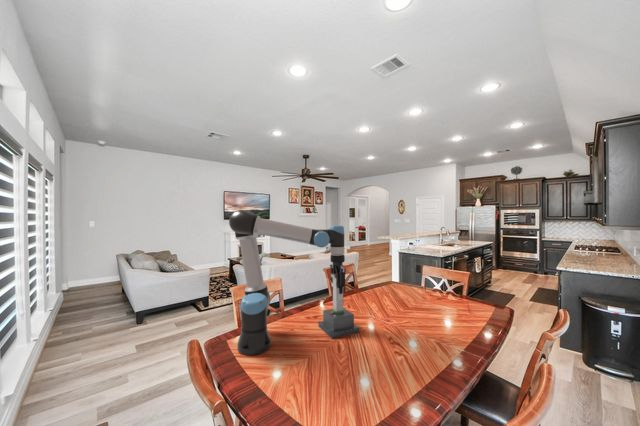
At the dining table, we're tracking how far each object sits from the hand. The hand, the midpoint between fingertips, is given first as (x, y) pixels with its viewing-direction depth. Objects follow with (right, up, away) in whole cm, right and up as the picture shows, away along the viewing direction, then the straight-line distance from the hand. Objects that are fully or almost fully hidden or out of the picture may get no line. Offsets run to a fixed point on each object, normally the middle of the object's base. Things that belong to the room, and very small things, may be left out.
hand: (337, 298), depth 141 cm
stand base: (0, -17, 0) cm, 17 cm away
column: (0, -11, 0) cm, 11 cm away
